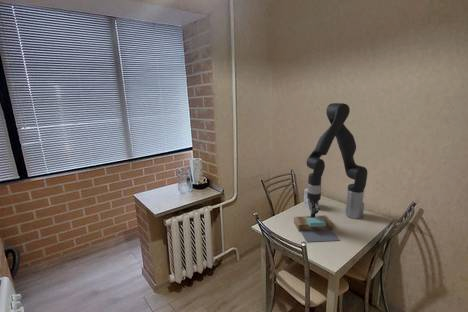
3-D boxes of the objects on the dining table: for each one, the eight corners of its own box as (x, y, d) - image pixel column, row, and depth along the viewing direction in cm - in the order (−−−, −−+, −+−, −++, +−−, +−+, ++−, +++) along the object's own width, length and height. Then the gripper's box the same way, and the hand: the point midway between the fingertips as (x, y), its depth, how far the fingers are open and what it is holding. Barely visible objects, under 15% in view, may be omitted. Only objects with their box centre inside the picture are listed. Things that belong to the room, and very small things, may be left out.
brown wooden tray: (325, 221, 154) (326, 215, 153) (332, 229, 144) (333, 223, 143) (293, 222, 153) (294, 216, 153) (298, 231, 144) (298, 224, 143)
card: (321, 221, 146) (321, 217, 146) (325, 226, 141) (325, 222, 140) (306, 221, 146) (306, 217, 145) (309, 227, 140) (310, 223, 140)
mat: (331, 230, 144) (331, 229, 144) (340, 240, 133) (340, 240, 133) (300, 231, 143) (300, 231, 143) (306, 242, 133) (306, 241, 132)
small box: (318, 207, 173) (319, 189, 170) (313, 210, 169) (314, 192, 166) (308, 203, 179) (309, 186, 176) (303, 206, 176) (304, 189, 173)
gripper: (324, 195, 137) (323, 223, 141) (316, 186, 150) (315, 213, 154) (311, 195, 137) (310, 224, 141) (304, 187, 150) (303, 213, 154)
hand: (312, 218), depth 148 cm, fingers closed
